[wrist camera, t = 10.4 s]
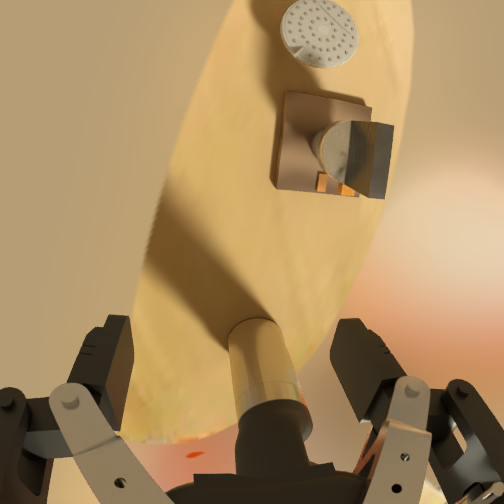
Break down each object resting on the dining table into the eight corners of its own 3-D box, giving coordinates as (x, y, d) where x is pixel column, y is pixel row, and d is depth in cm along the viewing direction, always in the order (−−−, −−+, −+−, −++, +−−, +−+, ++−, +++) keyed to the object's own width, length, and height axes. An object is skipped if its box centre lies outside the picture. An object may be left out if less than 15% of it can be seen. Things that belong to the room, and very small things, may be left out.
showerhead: (262, 28, 27) (320, -19, 25) (253, 42, 34) (303, 0, 32) (325, 85, 31) (376, 36, 29) (306, 90, 37) (351, 46, 35)
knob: (376, 125, 33) (416, 130, 25) (367, 193, 36) (404, 214, 28) (319, 115, 32) (350, 116, 24) (312, 189, 35) (340, 209, 27)
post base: (354, 194, 44) (379, 209, 37) (274, 186, 42) (287, 200, 35) (367, 107, 39) (395, 107, 32) (285, 91, 37) (301, 86, 30)
